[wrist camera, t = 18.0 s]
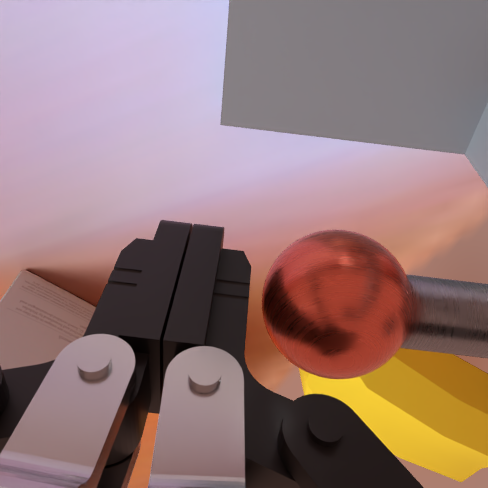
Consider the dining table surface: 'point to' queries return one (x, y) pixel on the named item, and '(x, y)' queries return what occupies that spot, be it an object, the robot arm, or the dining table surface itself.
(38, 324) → the supplement box
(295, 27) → the press
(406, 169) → the dining table surface
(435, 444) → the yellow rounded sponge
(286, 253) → the lever
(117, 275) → the robot arm
